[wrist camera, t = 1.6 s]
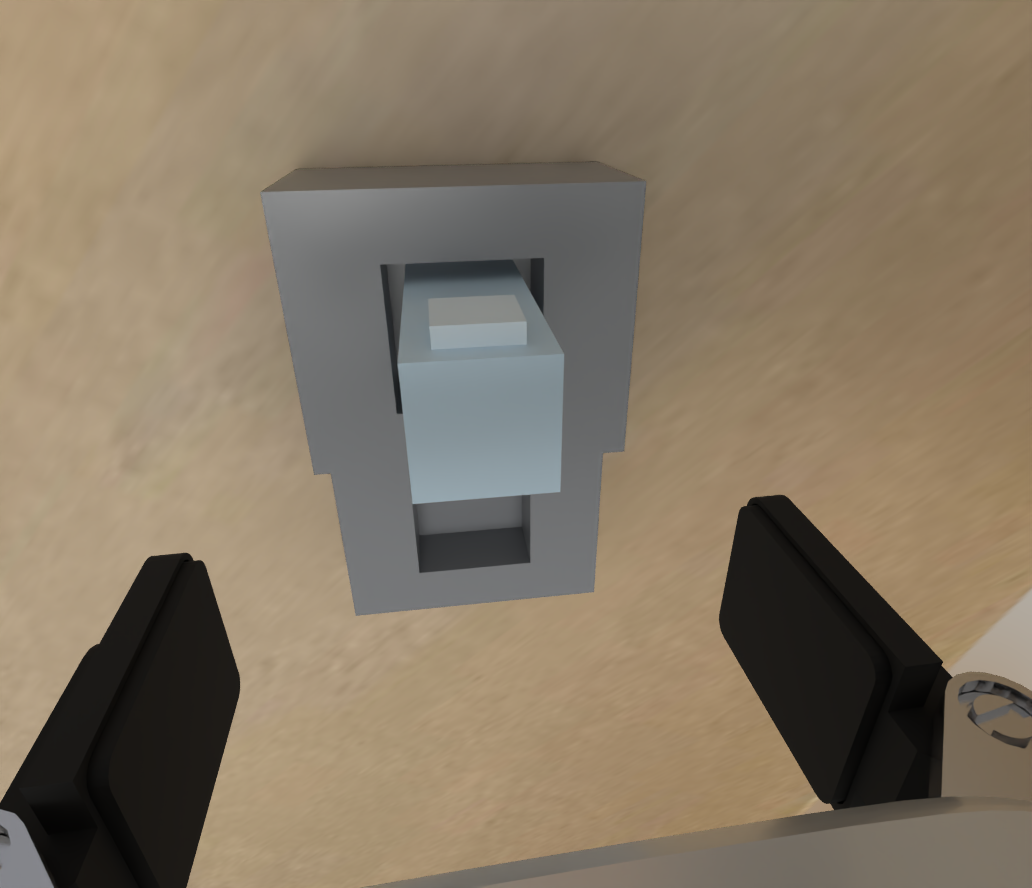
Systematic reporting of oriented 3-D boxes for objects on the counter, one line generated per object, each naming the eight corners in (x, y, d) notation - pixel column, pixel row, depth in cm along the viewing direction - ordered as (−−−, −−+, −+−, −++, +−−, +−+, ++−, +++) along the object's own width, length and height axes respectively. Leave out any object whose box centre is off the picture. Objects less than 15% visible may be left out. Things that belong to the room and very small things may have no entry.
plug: (512, 243, 24) (565, 330, 15) (513, 358, 26) (560, 491, 18) (403, 247, 24) (395, 339, 15) (414, 364, 26) (412, 504, 17)
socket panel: (597, 161, 26) (646, 181, 21) (579, 549, 36) (609, 635, 30) (296, 168, 25) (260, 192, 19) (361, 569, 35) (350, 662, 29)
